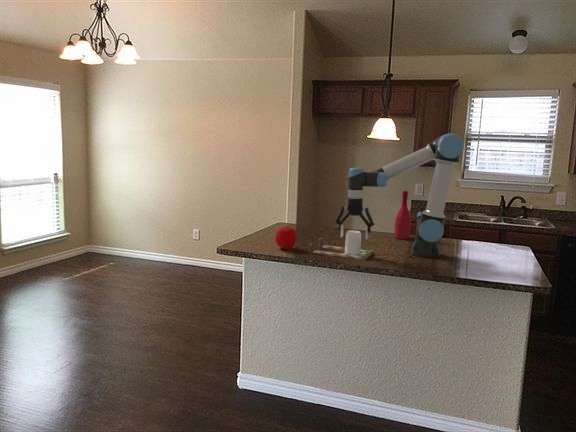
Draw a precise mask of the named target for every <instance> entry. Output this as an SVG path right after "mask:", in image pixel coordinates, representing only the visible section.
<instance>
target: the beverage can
mask: <svg viewBox="0 0 576 432" xmlns="http://www.w3.org/2000/svg"><path fill="white" fill-rule="evenodd" d="M344 241H345V244H344V248H345V251H344V253H346V254H348V255H358V254H360V250H362V248H361V247H362V246H361V245H362V244H361V243H362V233H361V231H359V230H352V229H351V230H349V229H348V230H347V231H346V233H345V240H344Z"/></svg>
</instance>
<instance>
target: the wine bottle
mask: <svg viewBox="0 0 576 432" xmlns="http://www.w3.org/2000/svg"><path fill="white" fill-rule="evenodd" d="M408 194H409V191H408V190H403V191H402V196H401V198H402V202H401V206H400V208H399V210H398V212H397V213H396V216H395V219H394V235H393V236H394V237H393V238H395V239H397V240H409V239H410V237H411V229H412V218H411V214H410V211H409V207H408V202H407V201H408V198H409V197H408V196H409V195H408Z"/></svg>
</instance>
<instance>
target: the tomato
mask: <svg viewBox="0 0 576 432" xmlns="http://www.w3.org/2000/svg"><path fill="white" fill-rule="evenodd" d="M274 240H275V243H276V245H277V246H278V247H279V248H281V249H285V250H291V249H293V248H294V246H295V245H296V243H297V232H296V230H295V229H294V228H293V227H291V226H288V225H286V226H282V227H279V228H278V229H277V230H276V231H275V234H274Z"/></svg>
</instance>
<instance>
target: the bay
mask: <svg viewBox="0 0 576 432" xmlns="http://www.w3.org/2000/svg"><path fill="white" fill-rule="evenodd" d="M324 240H325V239H324V238H322V237H319V239H318V242H319V243H318V248H319V247H320V248H319V249H321V248H322V249H327V250H328V249H330V250H337V251H343V253H338V252H331V251H323V250H315V243H314V242H310V243H309V254H315V253H317V254H318V255H323V254H324V256H331V257H340V258H345V257H346V258H347V259H354V260H362V261H366V260H367V259H368V258H369V257H371V255H372V254H373V251H374V250H373V249H369V250H366V249H360V254H358V255H348V254H346V253H345V247H341V246H335V245H334V246H333V245H326V244H324ZM317 254H316V255H317Z"/></svg>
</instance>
